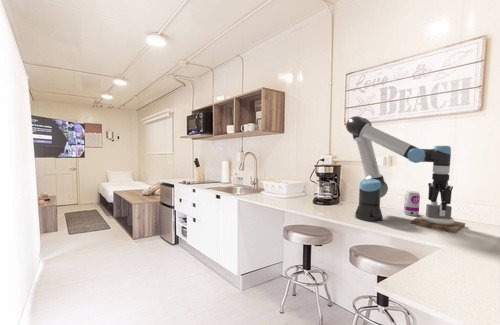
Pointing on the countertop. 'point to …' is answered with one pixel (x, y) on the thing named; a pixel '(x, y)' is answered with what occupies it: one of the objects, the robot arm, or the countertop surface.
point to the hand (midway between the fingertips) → (438, 214)
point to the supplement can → (412, 203)
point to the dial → (434, 217)
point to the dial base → (439, 225)
